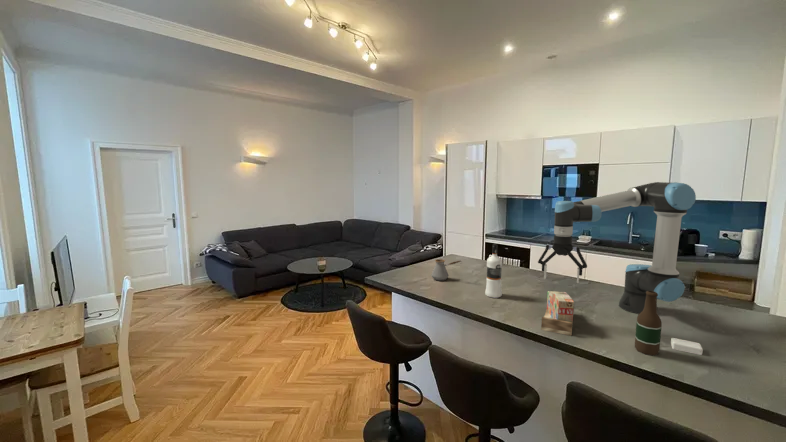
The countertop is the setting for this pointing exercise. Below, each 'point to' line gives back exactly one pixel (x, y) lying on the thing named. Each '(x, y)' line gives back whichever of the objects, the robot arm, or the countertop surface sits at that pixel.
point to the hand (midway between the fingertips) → (561, 280)
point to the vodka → (494, 275)
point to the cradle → (556, 324)
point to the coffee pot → (441, 270)
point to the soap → (686, 346)
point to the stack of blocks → (560, 306)
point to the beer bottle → (648, 327)
